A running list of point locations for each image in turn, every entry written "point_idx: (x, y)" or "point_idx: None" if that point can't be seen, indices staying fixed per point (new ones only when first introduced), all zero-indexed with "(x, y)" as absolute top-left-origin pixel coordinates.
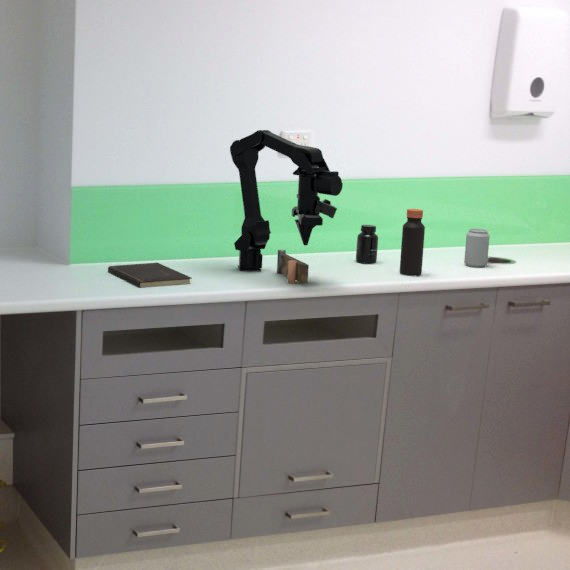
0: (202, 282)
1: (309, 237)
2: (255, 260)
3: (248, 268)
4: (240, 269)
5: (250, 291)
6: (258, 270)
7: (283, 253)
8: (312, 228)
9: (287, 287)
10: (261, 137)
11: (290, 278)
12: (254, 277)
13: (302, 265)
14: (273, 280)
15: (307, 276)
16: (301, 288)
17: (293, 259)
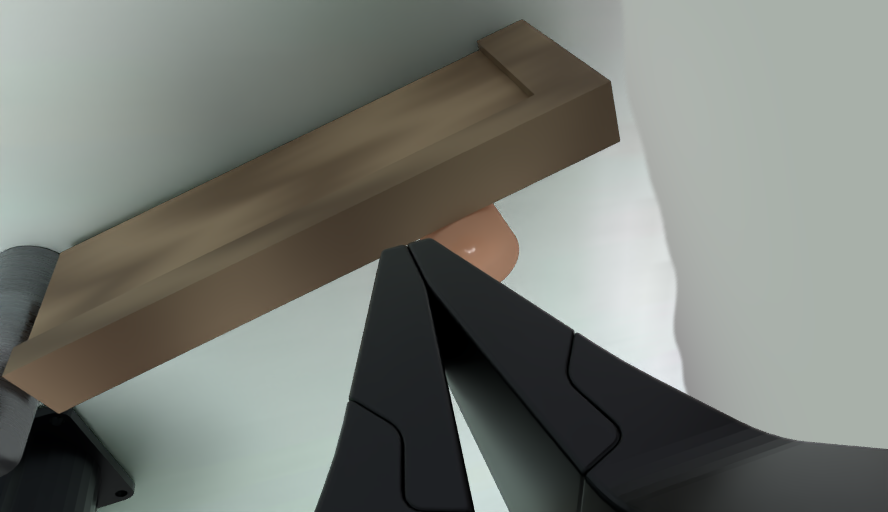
0: (484, 503)
1: (532, 306)
2: (51, 503)
3: (98, 472)
4: (132, 494)
5: (663, 321)
6: (76, 418)
7: (10, 407)
8: (775, 441)
9: (575, 163)
10: None
11: None
12: (299, 383)
13: (608, 143)
14: (362, 275)
15: (551, 45)
16: (607, 63)
17: (322, 263)
